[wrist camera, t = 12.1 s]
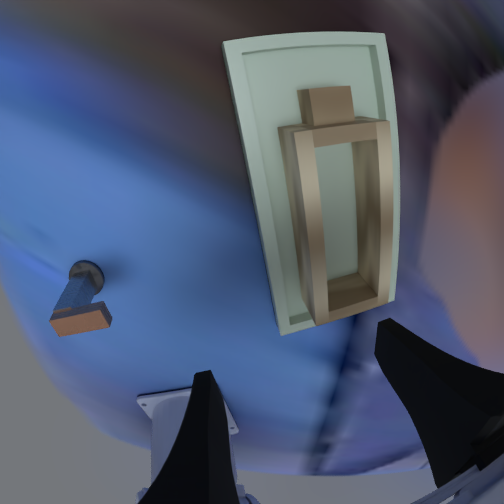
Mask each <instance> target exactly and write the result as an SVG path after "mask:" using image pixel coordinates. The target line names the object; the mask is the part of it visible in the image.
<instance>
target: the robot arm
mask: <svg viewBox="0 0 504 504" xmlns="http://www.w3.org/2000/svg"><path fill="white" fill-rule="evenodd" d="M374 354H375V357H376V359H377V361H378V363H379V365H380V367H381V369H382V371H383V373H384V375H385V376H386V378H387V379H388V381H389V383H390V384H391V386H392V387H393V389H394V390H395V392H396V393H397V395H398V396H399V398H400V400H401V401H402V403H403V404H404V406H405V407H406V409H407V411H408V413H409V414H410V416H411V418H412V421H413V423H414V425H415V427H416V429H417V432H418V434H419V436H420V439H421V441H422V444H423V446H424V449H425V452H426V454H427V457H428V460H429V463H430V466H431V470H432V473H433V477H434V481H435V484H436V486H437V488H438V489H437V490H435V491H433V492H432V493H430V494H428V495H426V496H425V497H423V498H421V499H419V500H417V501H415V502H413V503H411V504H439V503H441V502H442V501H444V500H446V499H447V498H449V497H451V496H452V495H454V494H455V493H456V494H455V495H454V499H453V500H452V501H450V502H449V503H447V504H504V374H503V373H499V372H494V371H491V370H487V369H484V368H481V367H478V366H475V365H472V364H470V363H467V362H465V361H463V360H460V359H458V358H456V357H454V356H452V355H450V354H448V353H446V352H444V351H442V350H440V349H438V348H437V347H435V346H433V345H431V344H430V343H428V342H426V341H425V340H423V339H422V338H420V337H418V336H417V335H415V334H414V333H412V332H411V331H409V330H408V329H406V328H405V327H403V326H402V325H400V324H399V323H397V322H396V321H394V320H393V319H391V318H388V319H385V320H383V321H380V322H378V327H377V336H376V344H375V352H374ZM137 403H138V404H139V405H140V406H141V408H142V409H143V410H144V411H145V413H146V414H147V415H148V416H149V418H150V419H151V420H152V444H151V486H150V487H149V488H143V489H142V490H141V491H139V492H138V493H137V495H136V502H135V504H260V503H259V502H258V501H257V499H256V498H255V497H254V496H252V495H250V494H245V490H244V486H243V485H238V484H236V483H237V472H236V466H235V460H234V454H233V448H232V442H231V436H230V435H232V434H236V433H238V432H239V429H238V427H237V425H236V423H235V421H234V419H233V417H232V415H231V413H230V411H229V409H228V407H227V405H226V402H225V400H224V398H223V396H222V394H221V392H220V390H219V388H218V386H217V383H216V381H215V379H214V377H213V374H212V372H211V370H208V371H203V372H198V373H196V374H195V375H194V380H193V385H192V388H189V389H183V390H178V391H172V392H165V393H159V394H152V395H145V396H139V397H137Z"/></svg>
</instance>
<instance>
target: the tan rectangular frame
mask: <svg viewBox="0 0 504 504" xmlns="http://www.w3.org/2000/svg"><path fill="white" fill-rule="evenodd" d="M297 95H298V101H299V107H300V113H301V119H302V123H301V124H294V125H288V126H282V127H277V129H278V135H279V141H280V147H281V153H282V159H283V165H284V172H285V178H286V184H287V191H288V198H289V204H290V211H291V218H292V225H293V233H294V240H295V247H296V255H297V263H298V271H299V279H300V288H301V296H302V300H303V302H304V304H305V305H306V307H307V309H308V311H309V313H310V315H311V317H312V319H313V321H314V323H315V325H316V326H319V325H322V324H325V323H329V322H332V321H335V320H338V319H341V318H345V317H348V316H351V315H354V314H357V313H360V312H363V311H366V310H369V309H372V308H375V307H378V306H381V305H383V304H386V303H388V300H389V290H390V278H391V264H392V245H393V162H392V144H391V130H390V121H387V120H382V119H376V118H370V117H363V116H357V117H355V116H354V108H353V100H352V93H351V86H333V87H321V88H311V89H302V90H297ZM349 142H351V145H352V155H353V167H354V180H355V195H356V215H357V248H358V272H356V273H353V274H349V275H346V276H342V277H339V278H336V279H332V280H328V281H327V271H326V257H325V243H324V231H323V220H322V210H321V200H320V191H319V182H318V173H317V165H316V157H315V150H314V148H316V147H322V146H329V145H335V144H342V143H349Z"/></svg>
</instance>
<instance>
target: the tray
mask: <svg viewBox="0 0 504 504" xmlns="http://www.w3.org/2000/svg"><path fill="white" fill-rule="evenodd" d="M221 48H222V53H223V58H224V63H225V67H226V72H227V77H228V82H229V86H230V91H231V96H232V101H233V106H234V110H235V115H236V120H237V125H238V130H239V135H240V140H241V145H242V150H243V155H244V160H245V164H246V169H247V174H248V179H249V184H250V189H251V194H252V200H253V205H254V210H255V215H256V220H257V225H258V230H259V235H260V240H261V245H262V251H263V256H264V261H265V266H266V271H267V277H268V282H269V287H270V292H271V298H272V303H273V308H274V313H275V319H276V324H277V326H278V329H279V332H280V335H281V336H283V335H286V334H290V333H293V332H297V331H300V330H304V329H307V328H311V327H314V326H316V325H315V323H314V321H313V319H312V317H311V315H310V313H309V311H308V309H307V307H306V305H305V304H304V302H303V300H302V296H301V288H300V279H299V271H298V263H297V255H296V247H295V240H294V233H293V225H292V218H291V211H290V204H289V198H288V191H287V184H286V178H285V172H284V165H283V159H282V153H281V147H280V141H279V135H278V129H277V127H282V126H288V125H294V124H301V123H302V119H301V113H300V107H299V101H298V95H297V90H302V89H311V88H321V87H333V86H351V93H352V100H353V108H354V116H355V117H357V116H363V117H370V118H376V119H382V120H387V121H390V130H391V144H392V162H393V245H392V264H391V278H390V290H389V300H388V302H391V301H394V297H395V288H396V277H397V265H398V250H399V228H400V164H399V144H398V129H397V117H396V107H395V98H394V90H393V82H392V75H391V68H390V62H389V56H388V50H387V45H386V39H385V34H383V33H367V32H305V33H288V34H276V35H267V36H258V37H250V38H243V39H236V40H230V41H224V42H223V44H222V46H221ZM314 150H315V157H316V165H317V173H318V182H319V191H320V200H321V210H322V220H323V231H324V243H325V257H326V271H327V281H328V280H332V279H336V278H339V277H342V276H346V275H349V274H353V273H356V272H358V248H357V215H356V195H355V180H354V167H353V155H352V145H351V142H349V143H342V144H335V145H329V146H322V147H316V148H314Z"/></svg>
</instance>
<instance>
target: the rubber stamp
mask: <svg viewBox="0 0 504 504" xmlns="http://www.w3.org/2000/svg"><path fill="white" fill-rule="evenodd" d="M69 280H70V281H69V282H68V284H67V286H66V287H65V289H64V291H63V293H62V295H61V296H60V298H59V300H58V302H57V304H56V306H55V308H54V309H53V314H52V316H51V318H50V320H49V322H50V323H51V325H52V326H53V328H54V330H55V331H56V333H57V334H58V336H59V337H61V336H67V335H72V334H78V333H83V332H88V331H93V330H98V329H104V328H109V327H110V325H111V321H112V316H111V314H110V312H109V311H108V309H107V307H106V305H105V303H104V301H101V302H97V303H92V304H91V302H92V299H93V297H94V295H96V294H98V293H99V292H100V291H101V289H102V287H103V284H104V275H103V273H102V271H101V269H100V268H99V267H98V266H97V265H96V264H94V263H92V262H90V261H79V262H77V263H75V264H74V265H73V267H72V268H71V270H70V272H69Z"/></svg>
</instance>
